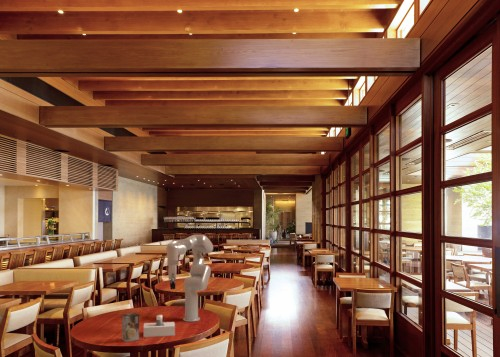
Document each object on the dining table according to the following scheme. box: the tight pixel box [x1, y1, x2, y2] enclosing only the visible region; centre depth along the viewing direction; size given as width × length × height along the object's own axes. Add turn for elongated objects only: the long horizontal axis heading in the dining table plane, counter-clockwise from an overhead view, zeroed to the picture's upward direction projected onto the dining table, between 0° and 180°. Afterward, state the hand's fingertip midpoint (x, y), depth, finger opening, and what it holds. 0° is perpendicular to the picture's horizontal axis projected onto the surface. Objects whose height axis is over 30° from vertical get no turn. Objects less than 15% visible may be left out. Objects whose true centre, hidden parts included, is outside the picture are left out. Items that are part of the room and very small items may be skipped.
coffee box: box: [121, 312, 140, 343], centre depth 303 cm, size 9×6×16 cm
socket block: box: [143, 321, 176, 338], centre depth 317 cm, size 12×20×6 cm, turn 101°
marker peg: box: [155, 314, 163, 326], centre depth 317 cm, size 4×4×12 cm
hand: (172, 287), depth 331 cm, fingers open, 9 cm apart
